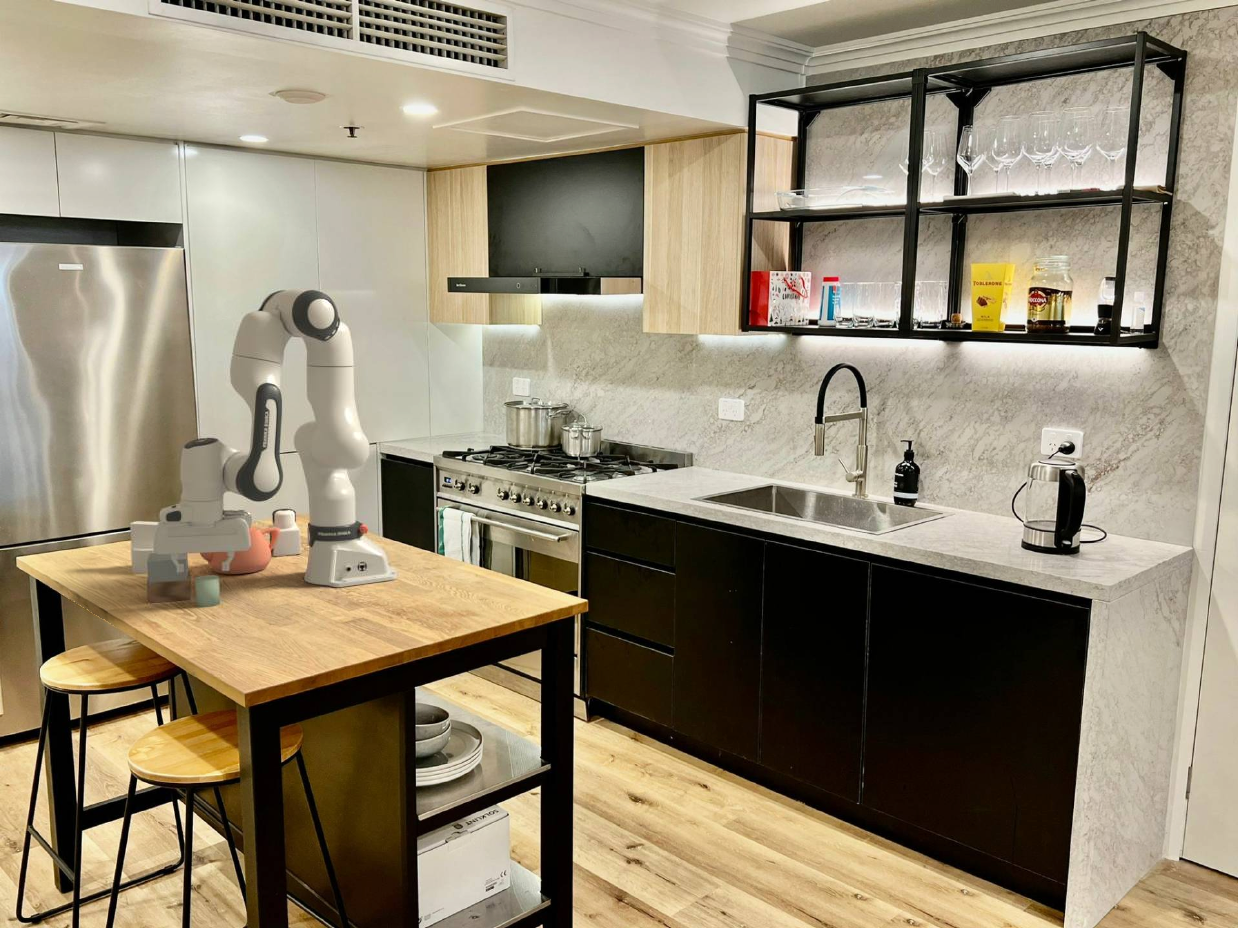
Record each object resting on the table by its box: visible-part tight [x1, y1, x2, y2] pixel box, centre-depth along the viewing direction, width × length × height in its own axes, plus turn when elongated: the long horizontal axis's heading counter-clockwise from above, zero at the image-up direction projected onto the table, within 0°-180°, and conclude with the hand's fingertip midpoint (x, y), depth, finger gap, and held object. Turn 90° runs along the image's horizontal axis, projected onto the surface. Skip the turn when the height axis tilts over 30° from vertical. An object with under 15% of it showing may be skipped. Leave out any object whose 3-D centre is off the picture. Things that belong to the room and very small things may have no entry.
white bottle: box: [268, 508, 302, 557], centre depth 279 cm, size 7×7×12 cm
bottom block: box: [146, 570, 192, 605], centre depth 237 cm, size 9×9×5 cm
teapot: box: [199, 525, 280, 575], centre depth 261 cm, size 22×15×12 cm
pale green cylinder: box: [194, 574, 221, 608], centre depth 232 cm, size 5×5×6 cm
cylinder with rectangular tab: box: [129, 520, 159, 575], centre depth 260 cm, size 9×9×12 cm
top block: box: [147, 553, 189, 583], centre depth 236 cm, size 8×8×5 cm
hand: (203, 571), depth 231 cm, fingers open, 8 cm apart
